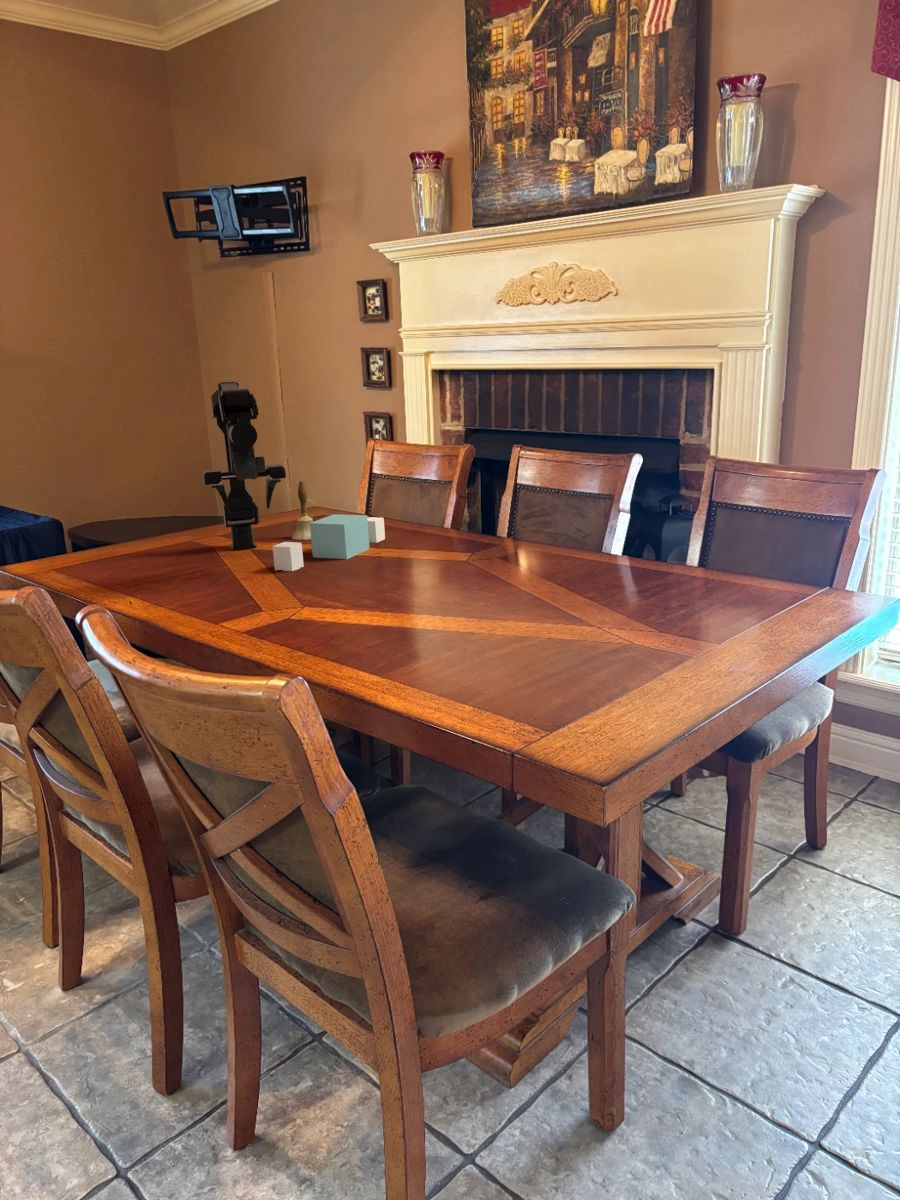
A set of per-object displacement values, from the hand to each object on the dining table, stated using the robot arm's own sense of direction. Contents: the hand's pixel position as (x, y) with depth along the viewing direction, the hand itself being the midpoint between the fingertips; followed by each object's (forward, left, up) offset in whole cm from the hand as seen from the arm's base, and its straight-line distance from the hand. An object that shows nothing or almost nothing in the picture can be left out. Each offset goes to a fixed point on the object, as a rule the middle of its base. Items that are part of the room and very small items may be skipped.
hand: (248, 510), depth 203 cm
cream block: (-18, +34, -15) cm, 41 cm away
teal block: (-7, +23, -15) cm, 28 cm away
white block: (+3, +8, -15) cm, 17 cm away
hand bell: (-32, +18, -15) cm, 40 cm away
